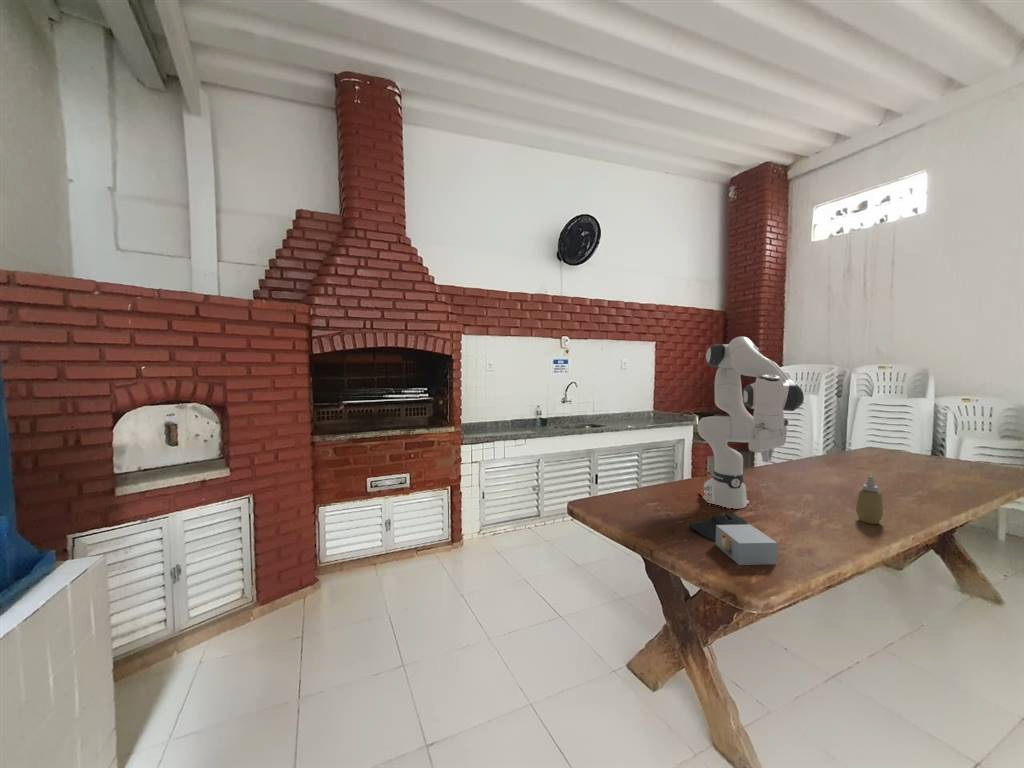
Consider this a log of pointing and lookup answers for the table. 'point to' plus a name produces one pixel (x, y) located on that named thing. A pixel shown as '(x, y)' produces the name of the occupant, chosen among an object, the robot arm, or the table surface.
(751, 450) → the robot arm
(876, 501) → the squeeze bottle
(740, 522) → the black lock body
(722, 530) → the socket block
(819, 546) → the table surface
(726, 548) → the dowel peg
